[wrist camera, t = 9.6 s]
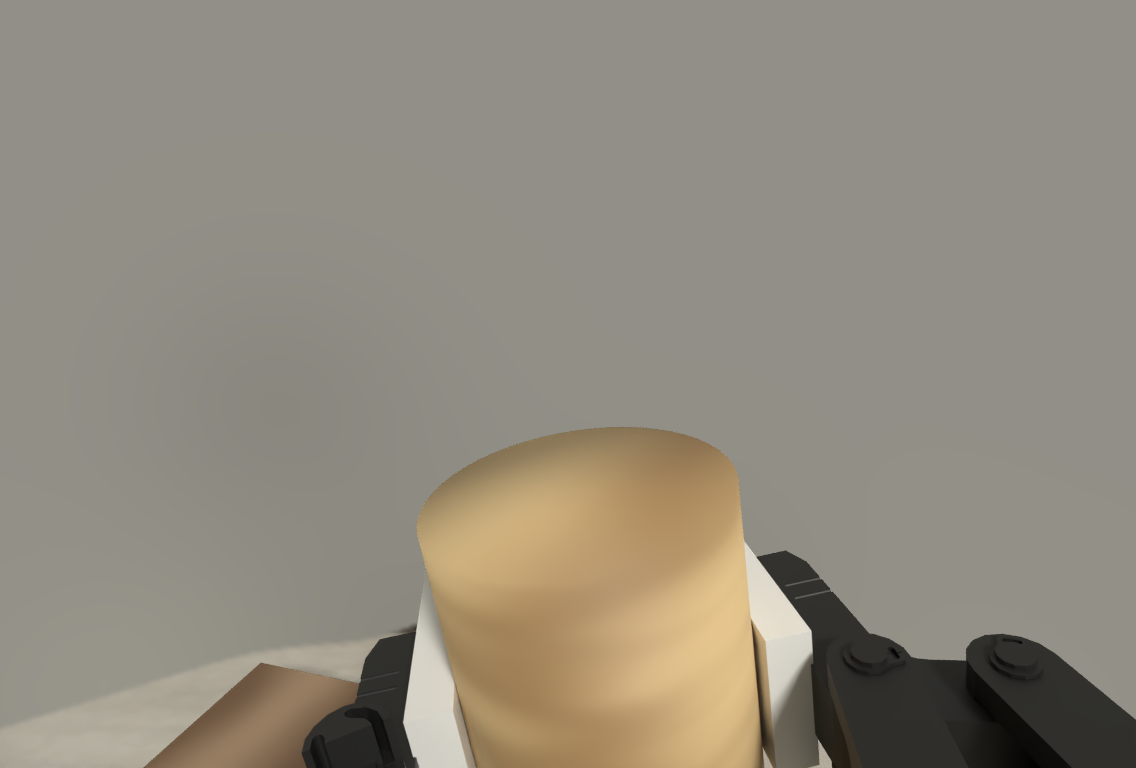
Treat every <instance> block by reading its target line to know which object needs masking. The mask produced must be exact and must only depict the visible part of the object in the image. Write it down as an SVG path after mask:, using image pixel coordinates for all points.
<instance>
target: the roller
mask: <svg viewBox="0 0 1136 768" xmlns="http://www.w3.org/2000/svg"><path fill="white" fill-rule="evenodd" d="M417 535H418V539H419V543H420V547H421V550H422V554H423V558H424V562H425V566H426V570H427V574H428V578H429V582H430V586H431V590H432V594H433V597H434V601H435V605H436V609H437V613H438V617H439V621H440V625H441V629H442V633H443V637H444V640H445V644H446V648H447V652H448V656H449V660H450V664H451V668H452V672H453V676H454V679H455V683H456V687H457V691H458V695H459V699H460V703H461V707H462V711H463V715H464V719H465V722H466V726H467V730H468V734H469V738H470V742H471V746H472V750H473V754H474V758H475V762H476V765H477V768H764V759H763V748H762V737H761V726H760V715H759V704H758V693H757V681H756V670H755V659H754V648H753V637H752V626H751V615H750V604H749V593H748V582H747V571H746V560H745V549H744V537H743V526H742V516H741V504H740V493H739V482H738V475H737V473H736V470H735V467H734V465H733V464H732V463H731V462H730V460H729V459H728V458H727V457H726V456H725V455H724V454H723V453H722V452H720V451H719V450H718V449H716V448H715V447H713V446H711V445H710V444H708V443H705V442H703V441H701V440H699V439H696V438H693V437H690V436H687V435H684V434H680V433H675V432H671V431H665V430H658V429H650V428H637V427H608V428H594V429H585V430H577V431H570V432H565V433H559V434H554V435H549V436H545V437H540V438H537V439H533V440H529V441H526V442H522V443H519V444H516V445H513V446H510V447H508V448H505V449H502V450H500V451H497V452H495V453H493V454H490V455H488V456H486V457H484V458H482V459H479V460H478V461H476V462H474V463H472V464H470V465H468V466H467V467H465V468H463V469H462V470H460V471H459V472H457V473H456V474H454V475H453V476H451V477H450V478H449V479H448V480H446V481H445V482H444V483H442V484H441V485H440V486H439V487H438V488H437V489H436V490H435V491H434V492H433V493H432V494H431V496H430V497H429V498H428V500H427V501H426V502H425V504H424V506H423V508H422V509H421V511H420V514H419V518H418V521H417Z"/></svg>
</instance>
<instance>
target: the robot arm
mask: <svg viewBox="0 0 1136 768" xmlns="http://www.w3.org/2000/svg"><path fill="white" fill-rule="evenodd" d="M744 549H745V560H746V571H747V582H748V593H749V604H750V615H751V626H752V637H753V648H754V659H755V670H756V681H757V693H758V704H759V715H760V726H761V737H762V747H763V749H764V751H765V753H766V755H767V757H768V758H769V760H770V762H771V764H772V766H773V768H808V767H812V766H816V765H819V749H818V739H819V741H820V743H821V744H822V746H823V748H824V749H825V751H826V753H827V754H828V756H829V757H830V759H831V761H832V768H1136V720H1135V719H1134V718H1133V717H1132V716H1130V715H1129V714H1128V713H1127V712H1126V711H1124V710H1123V709H1122V708H1121V707H1119V706H1118V705H1117V704H1116V703H1115V702H1113V701H1112V700H1111V699H1110V698H1109V697H1107V696H1106V695H1105V694H1104V693H1103V692H1101V691H1100V690H1099V689H1098V688H1096V687H1095V686H1094V685H1093V684H1092V683H1090V682H1089V681H1088V680H1087V679H1086V678H1084V677H1083V676H1082V675H1081V674H1079V673H1078V672H1077V671H1076V670H1074V669H1073V668H1072V667H1071V666H1069V665H1068V664H1067V663H1066V662H1064V660H1062V659H1061V658H1060V657H1059V656H1058V655H1056V654H1055V653H1053V652H1052V651H1050V650H1048V649H1047V648H1046V647H1044V646H1042V645H1041V644H1039V643H1036V642H1033V641H1031V640H1028V639H1025V638H1022V637H1018V636H1012V635H1005V634H995V635H984V636H982V637H980V638H977V639H975V640H973V641H972V642H971V643H970V645H969V646H968V647H967V649H966V661H957V660H927V659H917V658H913V657H911V656H910V655H909V654H908V653H907V652H906V650H905V649H904V648H903V647H901V646H900V645H898V644H897V643H895V642H894V641H892V640H890V639H888V638H885V637H881V636H878V635H875V634H869V633H868V632H867V631H866V630H865V628H864V627H863V626H862V625H861V624H860V622H858V620H857V619H856V618H855V617H854V616H853V614H852V613H851V612H850V611H849V610H848V609H847V608H846V606H845V605H844V604H843V603H842V602H841V601H840V600H839V598H837V596H836V595H835V594H834V593H833V592H831V591H830V588H829V587H828V586H827V585H826V584H825V583H824V581H823V580H822V579H821V580H820V578H819V576H818V574H817V573H816V572H815V571H814V570H813V569H812V568H811V567H810V565H809V564H808V563H807V562H806V561H804V560H802V559H801V558H799V557H797V556H795V555H793V554H791V553H789V552H787V551H782V552H777V553H772V554H768V555H763V556H758V557H756V556H755V555H754V554H753V552H752V551H751V550H750V548H749V547H748V545H747V544H746V543H745V541H744ZM301 753H302V756H303V759H304V762H305V765H306V768H477V765H476V762H475V758H474V754H473V750H472V746H471V742H470V738H469V734H468V730H467V726H466V722H465V719H464V715H463V711H462V707H461V703H460V699H459V695H458V691H457V687H456V683H455V679H454V676H453V672H452V668H451V664H450V660H449V656H448V652H447V648H446V644H445V640H444V637H443V633H442V629H441V625H440V621H439V617H438V613H437V609H436V605H435V601H434V597H433V594H432V590H431V586H430V582H429V578H428V574H427V570H426V568H425V575H424V582H423V590H422V596H421V603H420V610H419V617H418V624H417V631H416V632H412V633H407V634H403V635H398V636H393V637H389V638H384V639H380V640H379V641H378V643H377V644H376V645H375V647H374V648H373V649H372V651H371V652H370V653H369V655H368V656H367V657H366V659H365V662H364V666H363V671H362V675H361V682H360V683H359V687H358V691H357V698H356V699H355V703H353V704H349V705H345V706H343V707H341V708H339V709H337V710H335V711H333V712H331V713H329V714H328V715H327V716H325V717H324V718H323V719H322V720H321V721H320V722H318V723H317V724H316V725H315V726H314V727H313V728H312V730H311V731H310V733H309V734H308V736H307V737H306V738H305V741H304V744H303V748H302V752H301Z"/></svg>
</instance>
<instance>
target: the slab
mask: <svg viewBox="0 0 1136 768" xmlns="http://www.w3.org/2000/svg"><path fill="white" fill-rule="evenodd" d="M358 687H359V683H354V682H349V681H344V680H340V679H335V678H330V677H326V676H321V675H316V674H311V673H307V672H302V671H297V670H293V669H288V668H283V667H279V666H274V665H269V664H264V663H260V664H259V665H258V666H257V667H256V668H254V669H253V670H252V671H251V672H250V673H249V674H248V675H247V676H245V677H244V678H243V679H242V680H241V681H240V682H239V683H238V684H237V685H235V686H234V687H233V688H232V689H231V690H230V691H229V692H228V693H226V694H225V695H224V696H223V697H222V698H221V699H220V700H219V701H217V702H216V703H215V704H214V705H213V706H212V707H211V708H210V709H209V710H207V711H206V712H205V713H204V714H203V715H202V716H201V717H200V718H198V719H197V720H196V721H195V722H194V723H193V724H192V725H191V726H189V727H188V728H187V729H186V730H185V731H184V732H183V733H182V734H181V735H179V736H178V737H177V738H176V739H175V740H174V741H173V742H172V743H170V744H169V745H168V746H167V747H166V748H165V749H164V750H163V751H162V752H160V753H159V754H158V755H157V756H156V757H155V758H154V759H153V760H151V761H150V762H149V763H148V764H147V765H146V766H145V767H144V768H306V765H305V762H304V759H303V756H302V753H301V752H302V748H303V744H304V741H305V738H306V737H307V736H308V734H309V733H310V731H311V730H312V728H313V727H314V726H315V725H316V724H317V723H318V722H320V721H321V720H322V719H323V718H324V717H325V716H327V715H328V714H329V713H331V712H333V711H335V710H337V709H339V708H341V707H343V706H345V705H349V704H353V703H355V699H356V698H357V691H358Z"/></svg>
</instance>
